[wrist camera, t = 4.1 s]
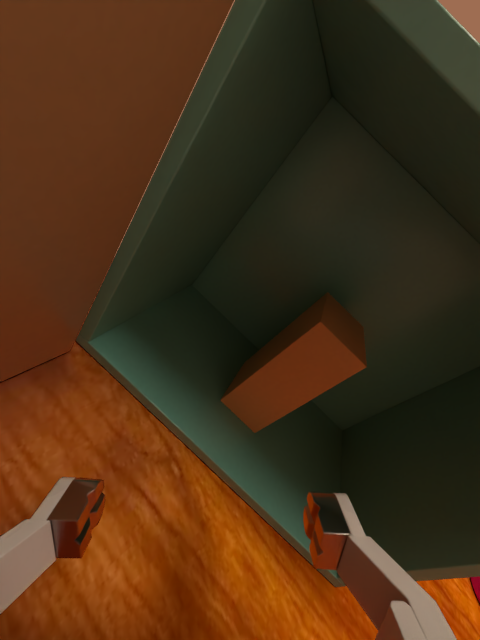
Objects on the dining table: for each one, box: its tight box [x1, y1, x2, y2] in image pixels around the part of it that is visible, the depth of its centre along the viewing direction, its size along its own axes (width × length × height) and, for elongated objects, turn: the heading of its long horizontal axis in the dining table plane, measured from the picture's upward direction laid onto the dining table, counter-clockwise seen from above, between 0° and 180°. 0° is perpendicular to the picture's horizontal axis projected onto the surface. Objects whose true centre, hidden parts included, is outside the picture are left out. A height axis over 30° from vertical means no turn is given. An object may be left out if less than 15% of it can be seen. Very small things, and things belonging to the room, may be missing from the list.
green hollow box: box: [76, 0, 480, 587], centre depth 21 cm, size 16×28×24 cm, turn 63°
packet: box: [221, 292, 367, 433], centre depth 23 cm, size 4×6×12 cm
